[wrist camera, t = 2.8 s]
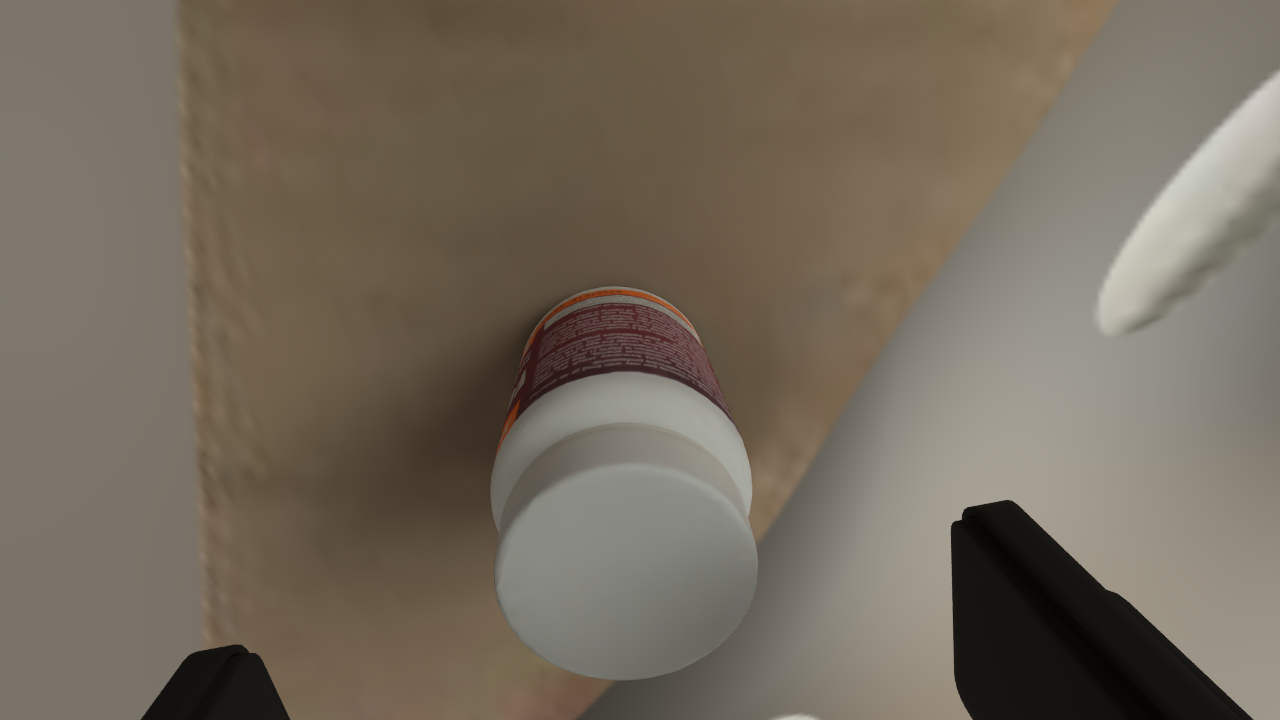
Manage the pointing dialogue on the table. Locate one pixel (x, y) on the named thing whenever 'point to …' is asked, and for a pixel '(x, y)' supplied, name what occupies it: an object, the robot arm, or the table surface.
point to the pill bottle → (621, 492)
